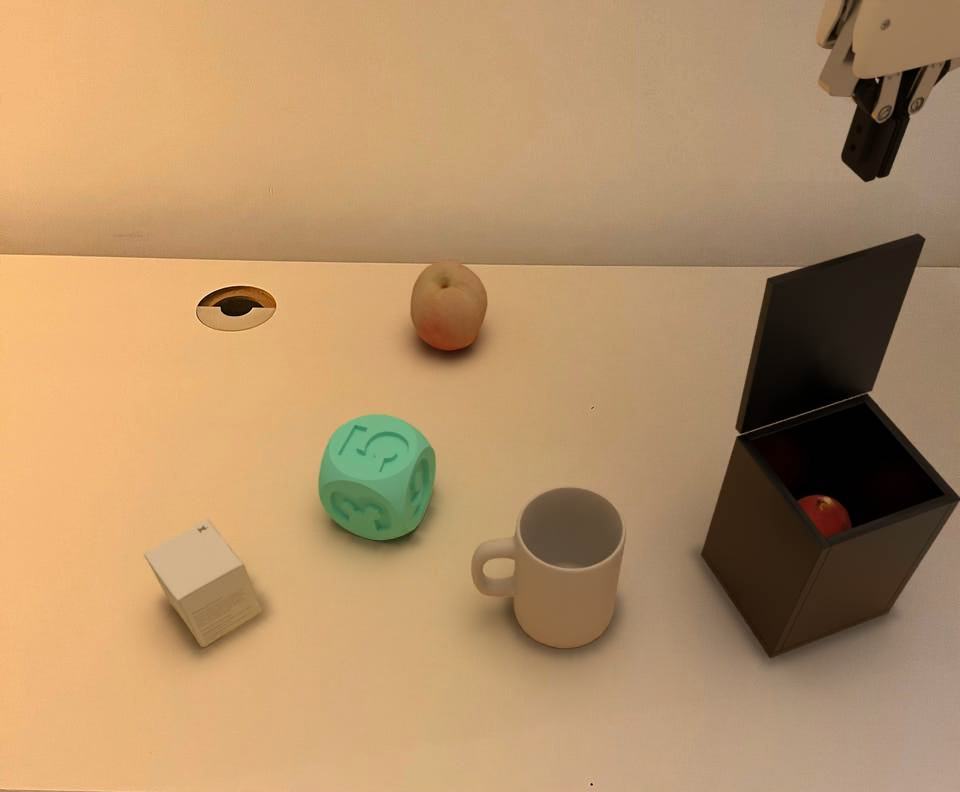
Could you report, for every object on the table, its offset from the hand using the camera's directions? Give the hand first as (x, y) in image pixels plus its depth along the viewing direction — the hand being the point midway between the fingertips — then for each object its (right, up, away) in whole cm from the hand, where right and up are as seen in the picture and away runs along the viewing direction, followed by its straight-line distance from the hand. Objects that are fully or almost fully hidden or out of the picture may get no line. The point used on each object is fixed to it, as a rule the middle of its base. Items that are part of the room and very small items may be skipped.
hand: (863, 168), depth 62 cm
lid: (-1, -10, +4) cm, 11 cm away
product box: (-48, -29, +19) cm, 59 cm away
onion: (+3, -24, +20) cm, 31 cm away
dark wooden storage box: (+2, -26, +19) cm, 33 cm away
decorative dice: (-34, -19, +25) cm, 46 cm away
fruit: (-29, 0, +36) cm, 46 cm away
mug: (-20, -29, +18) cm, 40 cm away
